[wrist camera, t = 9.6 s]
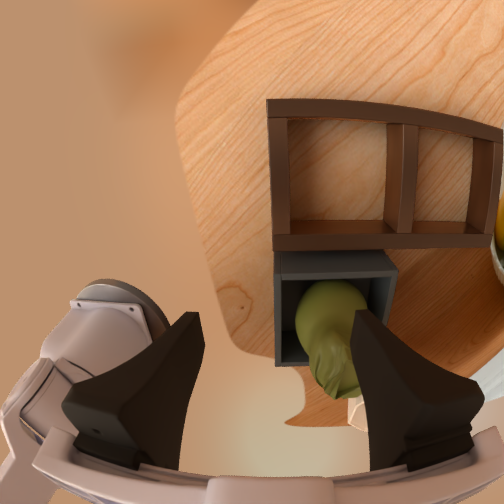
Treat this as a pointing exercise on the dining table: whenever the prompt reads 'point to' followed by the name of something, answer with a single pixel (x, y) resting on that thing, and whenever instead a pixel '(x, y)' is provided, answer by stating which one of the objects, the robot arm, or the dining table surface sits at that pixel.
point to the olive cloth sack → (330, 334)
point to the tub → (315, 269)
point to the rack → (397, 181)
